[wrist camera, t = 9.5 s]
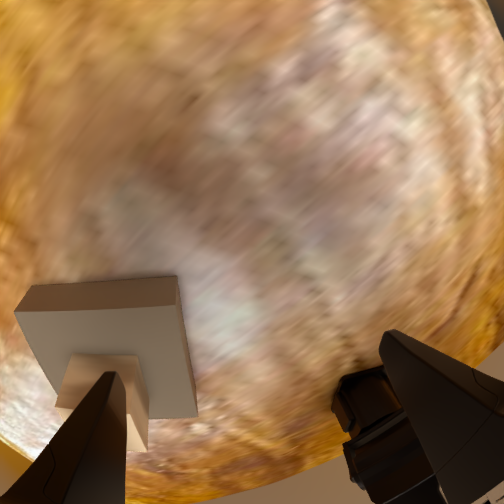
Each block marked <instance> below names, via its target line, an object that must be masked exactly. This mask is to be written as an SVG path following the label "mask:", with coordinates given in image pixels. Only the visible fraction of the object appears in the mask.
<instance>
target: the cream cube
mask: <svg viewBox="0 0 504 504" xmlns="http://www.w3.org/2000/svg"><path fill="white" fill-rule="evenodd" d="M105 371H117V372H118V374H119V376H120V378H121V380H122V382H123V384H124V386H125V390H126V412H127V449H126V451H133V452H147V449H148V420H149V401H150V399H149V395H148V392H147V389H146V385H145V382H144V378H143V375H142V371H141V367H140V364H139V360H138V356H137V355H101V354H80V353H72V356H71V359H70V361H69V364H68V367H67V370H66V373H65V376H64V379H63V382H62V385H61V388H60V391H59V394H58V398H57V401H56V404H55V408H56V410H57V411H58V413H59V414H60V416H61V417H62V419H63V420H64V422H65V421H66V419H67V418H68V417H69V416H70V414H71V413H72V412H73V410H74V409H75V408H76V407H77V405H78V404H79V403H80V401H81V400H82V399H83V398H84V396H85V395H86V394H87V393H88V391H89V390H90V389H91V388H92V386H93V385H94V384H95V383H96V381H97V380H98V379H99V378H100V376H101V375H102V374H103V373H104V372H105Z"/></svg>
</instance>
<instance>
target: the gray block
mask: <svg viewBox="0 0 504 504" xmlns="http://www.w3.org/2000/svg"><path fill="white" fill-rule="evenodd" d="M14 314H15V316H16V319H17V321H18V323H19V325H20V327H21V329H22V332H23V334H24V336H25V338H26V340H27V342H28V344H29V346H30V348H31V350H32V352H33V354H34V355H35V357H36V359H37V361H38V363H39V365H40V366H41V368H42V370H43V372H44V374H45V375H46V377H47V379H48V380H49V382H50V384H51V385H52V387H53V389H54V390H55V392H56V393H57V395H58V394H59V391H60V388H61V385H62V382H63V379H64V376H65V373H66V370H67V367H68V364H69V361H70V359H71V356H72V353H80V354H101V355H137V356H138V360H139V364H140V367H141V371H142V375H143V378H144V382H145V385H146V389H147V392H148V395H149V399H150V401H149V419H175V418H192V417H198V408H197V397H196V386H195V381H194V376H193V371H192V366H191V361H190V355H189V350H188V344H187V338H186V333H185V327H184V320H183V314H182V308H181V301H180V294H179V287H178V280H177V276H170V277H157V278H144V279H130V280H116V281H101V282H86V283H70V284H53V285H35V286H31V288H30V289H29V290H28V292H27V293H26V295H25V296H24V297H23V299H22V300H21V302H20V303H19V305H18V306H17V308H16V309H15V310H14Z"/></svg>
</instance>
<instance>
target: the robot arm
mask: <svg viewBox="0 0 504 504" xmlns="http://www.w3.org/2000/svg"><path fill="white" fill-rule="evenodd" d="M379 355H380V357H381V359H382V362H383V364H384V366H381V367H378V368H375V369H371V370H367V371H364V372H360V373H356V374H352V375H349V376H345V377H343V378H342V379H341V380H340V383H339V387H338V390H337V393H336V395H335V398H334V401H333V404H332V408H331V411H332V412H333V413H335V415H336V417H337V419H338V421H339V423H340V425H341V427H342V429H343V432H345V433H347V432H349V435H350V437H351V440H350V441H348V442H347V441H346V442H345V443H343V444H342V445H343V448H344V449H343V452H344V455H345V458H346V461H347V465H348V468H349V474H350V480H351V481H352V482H353V483H357V484H358V486H359V487H360V488H361V489H362V490H366V491H367V493H368V494H369V497H370V499H371V501H372V502H374V503H375V504H471V503H473V502H474V501H476V500H477V499H479V498H480V497H482V496H483V495H485V494H486V496H487V498H488V499H487V500H486V501H485V502H483V503H482V504H504V382H503V381H500V380H498V379H495V378H493V377H491V376H489V375H486V374H484V373H482V372H480V371H478V370H476V369H474V368H471V367H470V366H468V365H466V364H464V363H462V362H460V361H458V360H456V359H454V358H452V357H450V356H448V355H446V354H444V353H442V352H440V351H438V350H436V349H434V348H432V347H430V346H428V345H426V344H424V343H422V342H420V341H418V340H416V339H414V338H412V337H410V336H408V335H406V334H404V333H402V332H400V331H398V330H396V329H392V330H388V331H385V332H384V333H383V336H382V339H381V343H380V346H379ZM126 449H127V412H126V390H125V386H124V384H123V382H122V380H121V378H120V376H119V374H118V372H117V371H105V372H104V373H103V374H102V375H101V376H100V378H99V379H98V380H97V381H96V383H95V384H94V385H93V386H92V388H91V389H90V390H89V391H88V393H87V394H86V395H85V396H84V398H83V399H82V400H81V401H80V403H79V404H78V405H77V407H76V408H75V409H74V410H73V412H72V413H71V414H70V416H69V417H68V418H67V419H66V421H65V422H64V423H63V425H62V426H61V427H60V428H59V430H58V431H57V432H56V434H55V435H54V436H53V438H52V439H51V440H50V442H49V444H47V446H46V447H45V448H44V450H43V451H42V452H41V453H40V455H39V456H38V457H37V458H36V460H35V461H34V462H33V463H32V464H31V466H30V467H29V468H28V469H27V470H26V471H25V472H24V474H22V476H21V477H20V478H19V479H18V480H17V481H16V482H15V483H14V484H13V485H12V487H10V488H9V490H8V491H7V492H6V493H5V494H3V495H2V496H0V504H125V471H126ZM440 487H441V488H442V491H443V493H444V494H443V493H442V491H441V489H440ZM444 495H445V496H444Z"/></svg>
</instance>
